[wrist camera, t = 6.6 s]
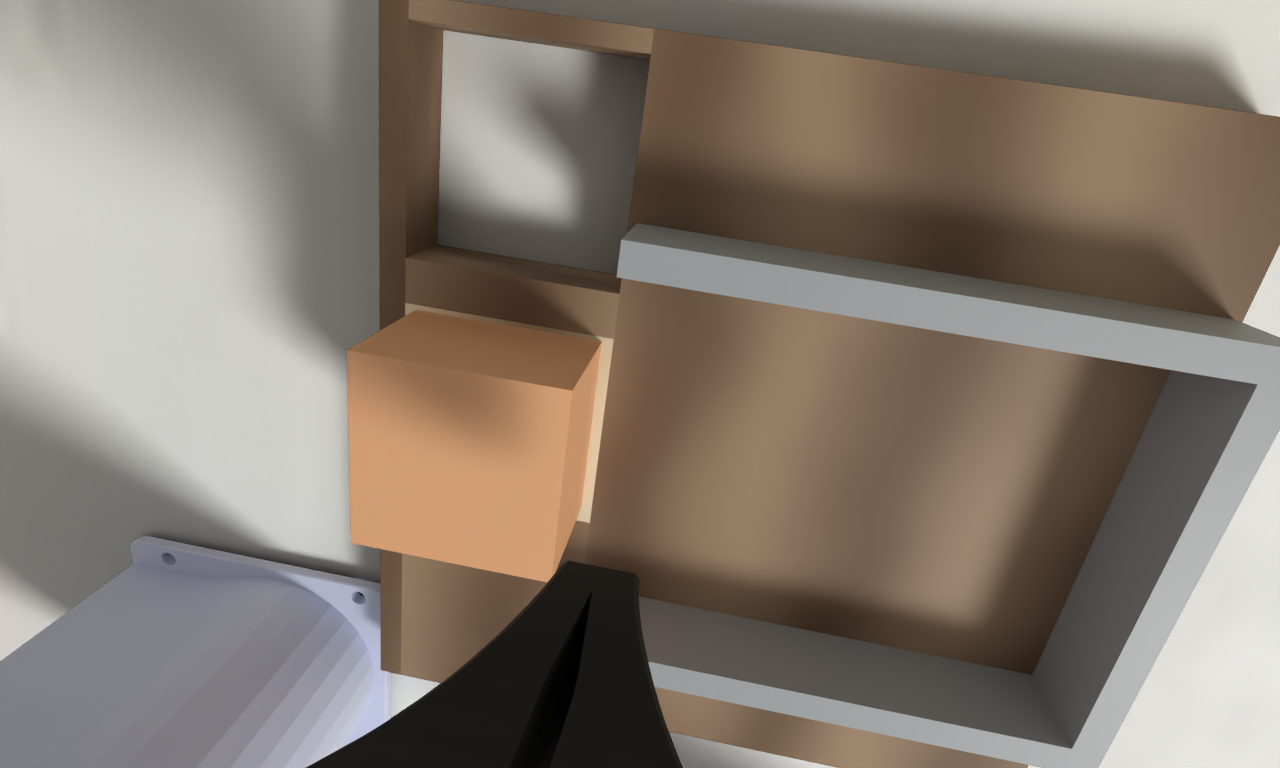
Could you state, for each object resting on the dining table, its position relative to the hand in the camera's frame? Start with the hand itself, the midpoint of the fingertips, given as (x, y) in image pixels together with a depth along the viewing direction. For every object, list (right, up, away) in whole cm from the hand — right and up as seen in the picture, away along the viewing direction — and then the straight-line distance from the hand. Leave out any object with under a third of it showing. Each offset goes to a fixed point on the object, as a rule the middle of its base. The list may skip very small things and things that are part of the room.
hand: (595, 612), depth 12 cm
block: (-3, +3, +7) cm, 8 cm away
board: (+4, +3, +8) cm, 9 cm away
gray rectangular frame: (+7, +1, +6) cm, 9 cm away
